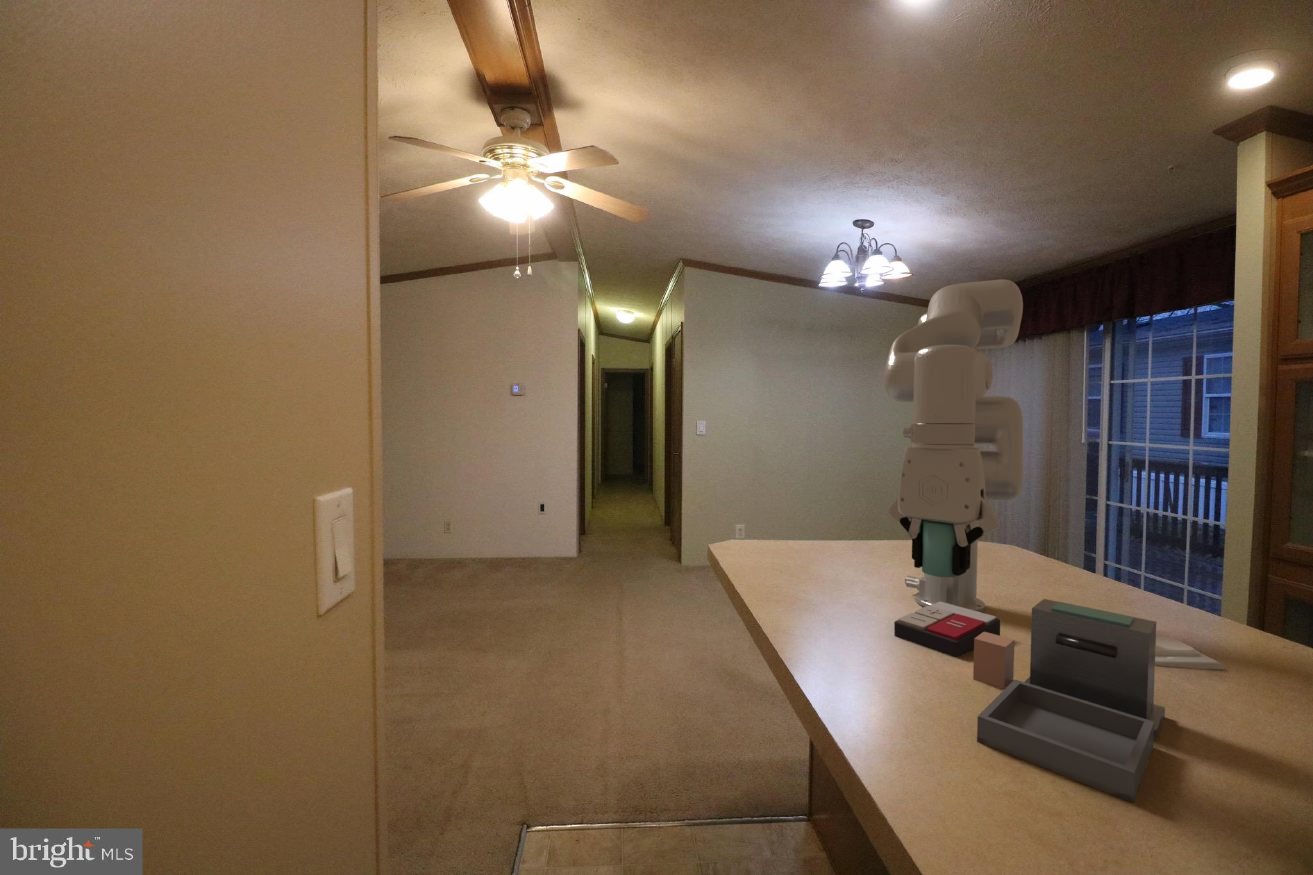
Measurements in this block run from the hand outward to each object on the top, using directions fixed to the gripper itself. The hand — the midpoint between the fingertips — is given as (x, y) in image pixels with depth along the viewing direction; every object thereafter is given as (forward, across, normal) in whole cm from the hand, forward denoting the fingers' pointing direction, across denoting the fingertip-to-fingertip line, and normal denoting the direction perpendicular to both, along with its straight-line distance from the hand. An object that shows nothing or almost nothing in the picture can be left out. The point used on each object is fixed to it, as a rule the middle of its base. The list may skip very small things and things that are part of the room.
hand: (940, 568), depth 77 cm
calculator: (+18, -7, +22) cm, 29 cm away
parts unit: (+17, +15, +11) cm, 25 cm away
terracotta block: (+17, +4, +10) cm, 20 cm away
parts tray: (+17, +15, -2) cm, 23 cm away
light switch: (+18, +18, +40) cm, 48 cm away
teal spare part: (+1, 0, 0) cm, 1 cm away
